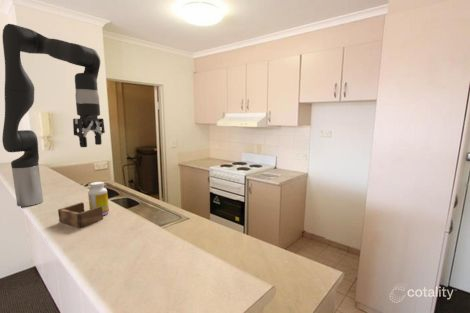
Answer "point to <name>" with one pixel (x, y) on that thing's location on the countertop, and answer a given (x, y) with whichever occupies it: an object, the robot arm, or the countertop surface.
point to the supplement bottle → (98, 197)
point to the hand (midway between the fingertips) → (91, 145)
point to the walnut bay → (79, 215)
